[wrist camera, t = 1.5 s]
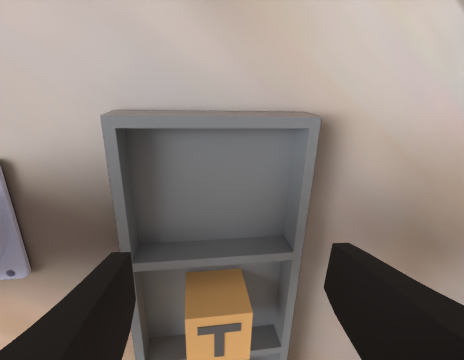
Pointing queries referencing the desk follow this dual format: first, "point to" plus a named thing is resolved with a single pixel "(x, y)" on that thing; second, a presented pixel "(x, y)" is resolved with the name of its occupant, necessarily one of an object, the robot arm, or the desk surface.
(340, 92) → the desk surface
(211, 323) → the letter cube
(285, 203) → the organizer
